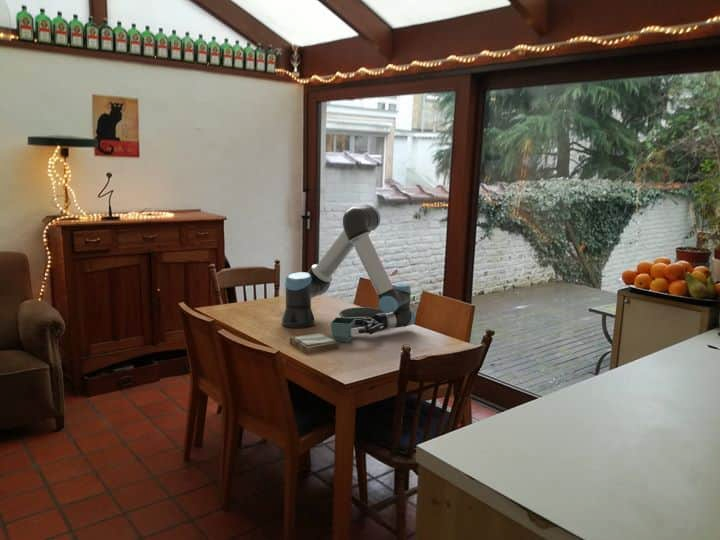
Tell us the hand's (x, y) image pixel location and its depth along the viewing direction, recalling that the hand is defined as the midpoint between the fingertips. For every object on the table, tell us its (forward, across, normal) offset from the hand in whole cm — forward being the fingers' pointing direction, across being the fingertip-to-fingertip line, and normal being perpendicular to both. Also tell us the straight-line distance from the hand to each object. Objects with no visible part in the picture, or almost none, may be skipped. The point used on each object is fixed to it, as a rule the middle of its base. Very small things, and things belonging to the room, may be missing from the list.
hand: (342, 327), depth 250 cm
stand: (+13, +1, -6) cm, 15 cm away
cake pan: (-25, +20, -6) cm, 33 cm away
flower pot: (-1, 0, -6) cm, 6 cm away
